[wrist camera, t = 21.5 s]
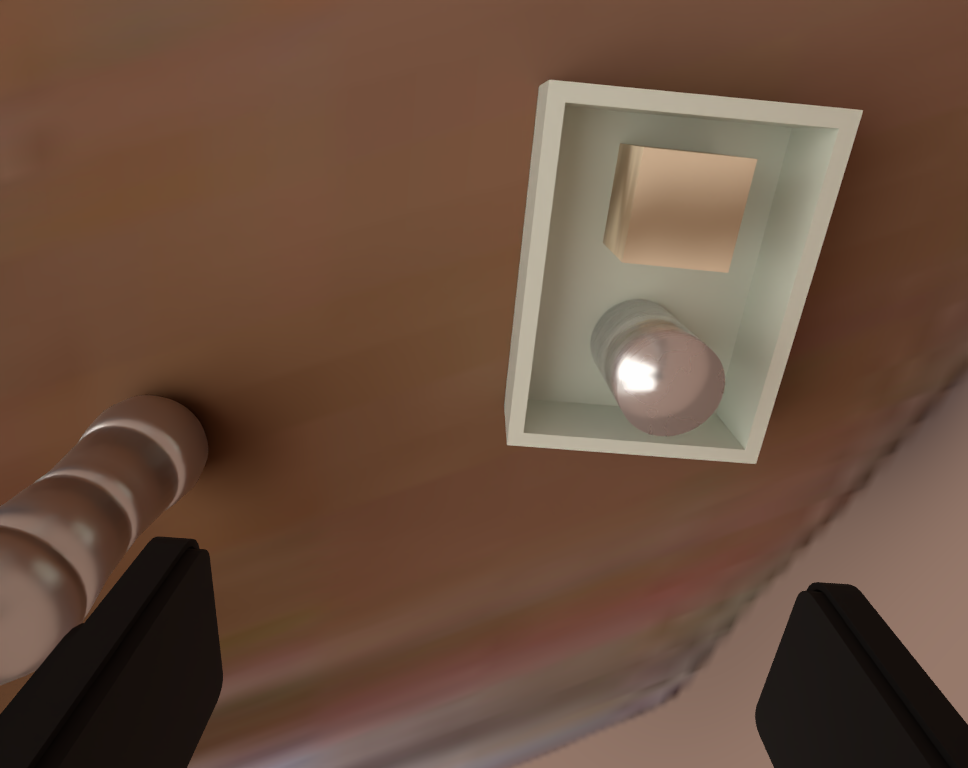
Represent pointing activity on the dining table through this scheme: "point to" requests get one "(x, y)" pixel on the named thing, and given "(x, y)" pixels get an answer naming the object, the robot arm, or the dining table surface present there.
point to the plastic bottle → (88, 521)
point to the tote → (682, 292)
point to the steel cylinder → (656, 368)
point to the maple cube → (677, 207)
